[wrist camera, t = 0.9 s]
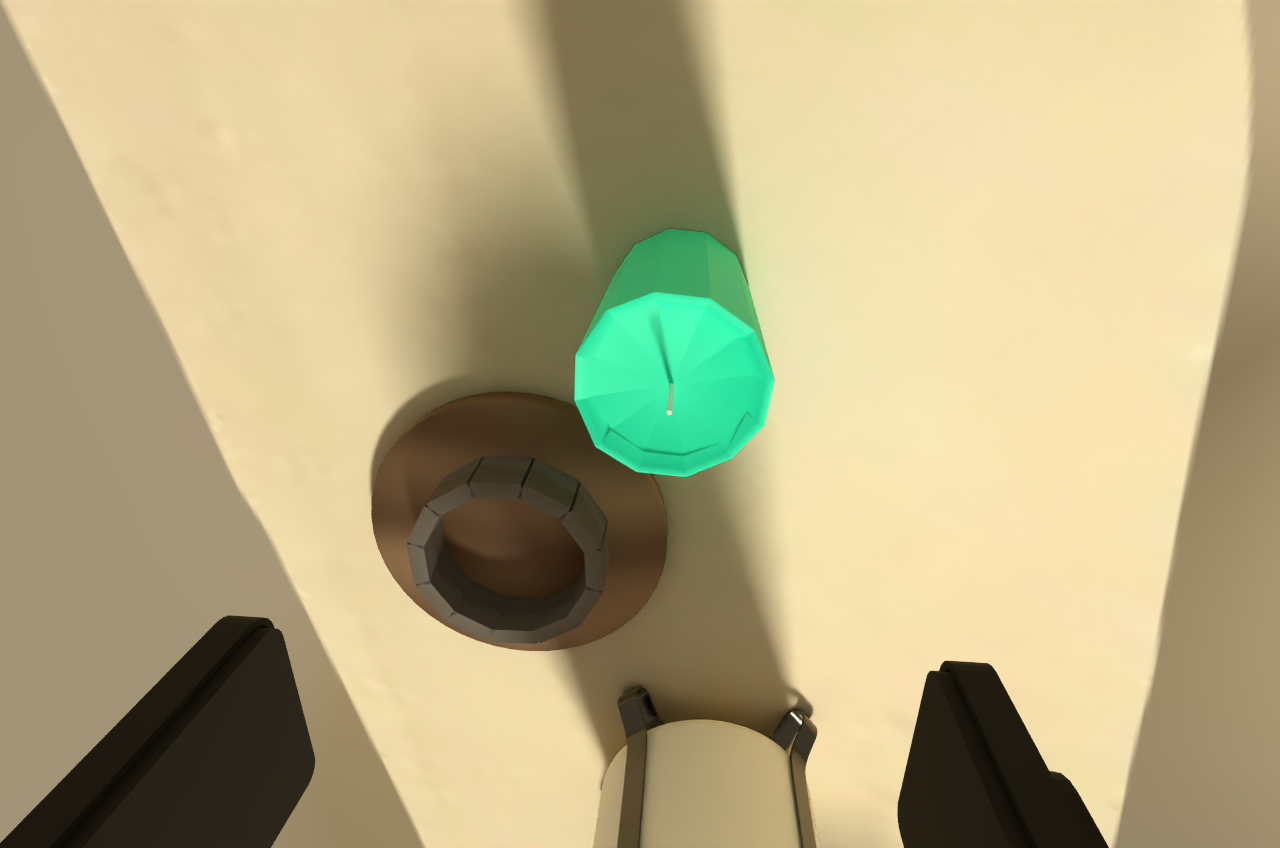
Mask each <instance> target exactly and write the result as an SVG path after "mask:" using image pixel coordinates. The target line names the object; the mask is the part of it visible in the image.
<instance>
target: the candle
mask: <svg viewBox="0 0 1280 848" xmlns="http://www.w3.org/2000/svg"><path fill="white" fill-rule="evenodd" d="M774 381H775V379H774V376H773V372H772V368H771V365H770V361H769V358H768V354H767V350H766V347H765V343H764V340H763V336H762V332H761V329H760V325H759V321H758V318H757V314H756V311H755V307H754V303H753V300H752V296H751V293H750V289H749V286H748V284H747V281H746V279H745V276H744V274H743V271H742V269H741V266H740V264H739V261H738V259H737V256H736V254H734V253H733V252H732V251H730V250H729V249H728V248H726V247H725V246H724V245H722V244H721V243H720V242H718V241H717V240H716V239H714V238H713V237H712V236H710V235H709V234H708V233H706V232H697V231H688V230H678V229H667V230H665V231H663V232H660V233H658V234H656V235H654V236H652V237H650V238H647V239H645V240H643V241H641V242H639V243H637V244H635V245H634V247H633V248H632V250H631V251H630V253H629V254H628V255H627V257H626V258H625V260H624V261H623V263H622V264H621V265H620V267H619V268H618V270H617V271H616V273H615V274H614V276H613V278H612V281H611V283H610V285H609V287H608V289H607V291H606V293H605V295H604V297H603V299H602V301H601V303H600V305H599V307H598V310H597V312H596V314H595V316H594V318H593V320H592V322H591V324H590V326H589V328H588V330H587V332H586V334H585V336H584V339H583V341H582V343H581V345H580V347H579V349H578V351H577V353H576V355H575V395H574V401H575V403H576V405H577V407H578V409H579V412H580V414H581V416H582V418H583V420H584V423H585V425H586V427H587V429H588V431H589V434H590V436H591V438H592V440H593V442H594V445H595V447H597V448H598V449H600V450H601V451H603V452H605V453H606V454H608V455H610V456H611V457H613V458H615V459H616V460H618V461H620V462H621V463H623V464H624V465H626V466H628V467H629V468H631V469H633V470H634V471H636V472H641V473H651V474H661V475H670V476H680V477H687V476H690V475H692V474H695V473H697V472H700V471H702V470H705V469H707V468H710V467H712V466H715V465H717V464H720V463H722V462H724V461H727V460H729V459H732V458H733V457H734V456H735V455H736V454H737V453H738V452H739V451H740V450H741V449H742V448H743V447H744V446H745V445H746V443H747V442H748V441H749V440H750V439H751V438H752V437H753V436H754V435H755V434H756V433H757V432H758V431H759V430H760V429H761V428H762V427H763V426H764V425H765V421H766V417H767V412H768V408H769V403H770V399H771V394H772V390H773V385H774Z"/></svg>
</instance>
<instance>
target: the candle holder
mask: <svg viewBox="0 0 1280 848" xmlns="http://www.w3.org/2000/svg"><path fill="white" fill-rule="evenodd" d="M372 523H373V531H374V535H375V539H376V542H377V545H378V549H379V551H380V553H381V556H382V558H383V560H384V562H385V564H386V566H387V568H388V569H389V571H390V573H391V574H392V576H393V578H394V579H395V580H396V582H397V583H398V584H399V585H400V587H401V588H402V589H403V591H404V592H405V593H406V594H407V595H408V596H409V597H410V598H411V599H412V600H413V601H414V602H415V603H416V604H417V605H418V606H419V607H421V608H422V609H423V610H424V611H425V612H427V613H428V614H429V615H430V616H432V617H433V618H435V619H436V620H438V621H439V622H441V623H442V624H444V625H445V626H447V627H449V628H451V629H453V630H455V631H457V632H459V633H461V634H463V635H465V636H468V637H470V638H473V639H475V640H477V641H481V642H484V643H487V644H491V645H494V646H498V647H504V648H509V649H515V650H525V651H551V650H560V649H567V648H571V647H576V646H580V645H584V644H586V643H589V642H592V641H595V640H598V639H600V638H602V637H604V636H606V635H608V634H610V633H612V632H613V631H615V630H617V629H618V628H620V627H621V626H623V625H624V624H625V623H627V622H628V621H629V620H630V619H631V618H632V617H633V616H635V615H636V614H637V613H638V612H639V611H640V609H641V608H642V607H643V606H644V605H645V603H646V602H647V601H648V599H649V598H650V596H651V595H652V593H653V591H654V590H655V588H656V586H657V583H658V581H659V579H660V576H661V574H662V570H663V566H664V562H665V557H666V545H667V517H666V511H665V507H664V502H663V498H662V495H661V493H660V490H659V488H658V485H657V483H656V480H655V479H654V477H653V475H652V474H651V473H641V472H636V471H634V470H633V469H631V468H629V467H628V466H626V465H624V464H623V463H621V462H620V461H618V460H616V459H615V458H613V457H611V456H610V455H608V454H606V453H605V452H603V451H601V450H600V449H598V448H597V447H595V445H594V442H593V440H592V438H591V436H590V434H589V431H588V429H587V427H586V425H585V423H584V420H583V418H582V416H581V414H580V412H579V409H578V408H577V407H574V406H572V405H570V404H567V403H564V402H561V401H558V400H555V399H552V398H548V397H543V396H538V395H533V394H527V393H514V392H498V393H485V394H479V395H474V396H468V397H465V398H462V399H459V400H456V401H453V402H450V403H448V404H446V405H444V406H441V407H439V408H437V409H435V410H433V411H432V412H430V413H429V414H427V415H426V416H424V417H423V418H421V419H420V420H419V421H418V422H416V423H415V424H414V425H413V426H412V427H411V428H410V429H409V430H408V431H407V432H406V433H405V434H404V435H403V436H402V437H401V438H400V440H399V441H398V442H397V443H396V445H395V446H394V447H393V448H392V450H391V451H390V452H389V453H388V455H387V457H386V459H385V460H384V462H383V464H382V466H381V468H380V470H379V473H378V476H377V479H376V481H375V484H374V490H373V496H372Z"/></svg>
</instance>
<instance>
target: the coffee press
mask: <svg viewBox="0 0 1280 848" xmlns="http://www.w3.org/2000/svg"><path fill="white" fill-rule="evenodd" d="M618 706H619V711H620V714H621V717H622V721H623V724H624V728H625V732H626V737H627V744H626V745H625V746H624V747H623V748H622V749H621V750H620V751H619V752H618V754H617V755H616V756H615V758H614V759H613V760H612V762H611V764H610V765H609V767H608V769H607V772H606V774H605V777H604V781H603V786H602V791H601V797H600V804H599V810H598V817H597V824H596V831H595V838H594V845H593V848H819V843H818V837H817V831H816V826H815V820H814V814H813V808H812V803H811V798H810V793H809V789H808V785H807V782H806V776H805V767H806V762H807V759H808V756H809V754H810V751H811V749H812V746H813V744H814V741H815V739H816V736H817V728H816V726H815V725H814V724H813V722H812V721H811V720H810V719H809V718H808V717H807V716H806V715H805V714H804V713H803V711H801V710H800V709H793V710H791V711H789V712H788V713H786V715H785V716H784V717H783V719H782V720H781V722H780V724H779V725H778V727H777V729H776V730H775V732H774V733H773V734H772V735H771V736H770V737H769V738H767V737H766V736H764V735H762V734H760V733H758V732H756V731H754V730H751V729H749V728H746V727H743V726H740V725H737V724H733V723H728V722H723V721H716V720H684V721H677V722H672V723H668V724H664V723H663V722H662V721H661V719H660V717H659V715H658V713H657V711H656V709H655V707H654V704H653V702H652V699H651V697H650V695H649V693H648V692H647V691H646V689H645V688H643V687H641V686H639V687H637V688H635V689H633V690H631V691H630V692H628V693H626V694H624V695H622V696H620V697H619V700H618ZM797 731H798V733H797ZM796 733H797V735H796ZM795 735H796V737H795V740H794V742H793V745H792V748H791V752H790V755H789V754H788V753H787V752H786V751H785V750H786V749H787V748H788V746H789V745H790V743H791V742H792V740H793V738H794V736H795Z"/></svg>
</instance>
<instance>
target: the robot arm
mask: <svg viewBox="0 0 1280 848" xmlns="http://www.w3.org/2000/svg"><path fill="white" fill-rule="evenodd" d="M314 767H315V756H314V752H313V748H312V744H311V740H310V736H309V733H308V729H307V725H306V721H305V717H304V714H303V710H302V706H301V702H300V698H299V694H298V690H297V687H296V683H295V679H294V675H293V671H292V668H291V664H290V660H289V656H288V652H287V648H286V645H285V641H284V637H283V634H282V632H281V631H280V630H279V629H275V628H274V626H273V624H272V622H271V621H270V620H269V619H267V618H260V617H244V616H226V617H223V618H222V619H220V620H219V621H218V622H217V623H216V624H215V625H214V626H213V627H212V628H211V629H210V630H209V631H208V632H207V633H206V634H205V635H204V636H203V637H202V638H201V639H200V640H199V641H198V642H197V643H196V644H195V645H194V646H193V647H192V648H191V649H190V650H189V651H188V652H187V653H186V654H185V655H184V656H183V657H182V658H181V659H180V660H179V661H178V662H177V663H176V664H175V665H174V667H172V668H171V669H170V671H168V672H167V674H166V675H165V676H164V677H163V678H162V679H161V680H160V681H159V682H158V683H157V684H156V685H155V686H154V687H153V688H152V689H151V690H150V691H149V692H148V693H147V694H146V695H145V696H144V697H143V698H142V699H141V700H140V701H139V702H138V703H137V704H136V705H135V706H134V707H133V708H132V709H131V710H130V711H129V712H128V713H127V714H126V715H125V716H124V717H123V719H122V720H120V721H119V722H118V723H117V725H116V726H115V727H114V728H113V729H112V730H111V731H110V732H109V733H108V734H107V735H106V736H105V737H104V738H103V739H102V740H101V741H100V742H99V743H98V744H97V745H96V746H95V747H94V748H93V749H92V750H91V751H90V752H89V753H88V754H87V755H86V756H85V757H84V758H83V759H82V760H81V761H80V762H79V763H78V764H77V765H76V766H75V767H74V768H73V769H72V770H71V771H70V773H69V774H67V776H66V777H65V778H64V779H63V780H62V781H61V782H60V783H59V784H58V785H57V786H56V787H55V788H54V789H53V790H52V791H51V792H50V793H49V794H48V795H47V796H46V797H45V798H44V799H43V800H42V801H41V802H40V803H39V804H38V805H37V806H36V807H35V808H34V809H33V810H32V811H31V812H30V813H29V814H28V815H27V816H26V817H25V818H24V819H23V821H22V822H20V824H18V826H17V827H16V828H15V829H14V830H13V831H12V832H11V833H10V834H9V835H8V836H7V837H6V838H5V839H4V840H3V841H2V842H1V843H0V848H271V846H272V845H273V843H274V841H275V840H276V838H277V836H278V835H279V833H280V831H281V830H282V828H283V826H284V825H285V823H286V821H287V820H288V818H289V816H290V815H291V813H292V811H293V810H294V808H295V806H296V805H297V803H298V801H299V800H300V798H301V796H302V795H303V793H304V791H305V790H306V788H307V786H308V785H309V783H310V780H311V778H312V775H313V772H314ZM898 824H899V830H900V834H901V838H902V841H903V845H904V848H1109V847H1108V845H1107V843H1106V842H1105V840H1104V838H1103V836H1102V834H1101V833H1100V831H1099V829H1098V827H1097V826H1096V824H1095V822H1094V820H1093V818H1092V817H1091V815H1090V813H1089V811H1088V810H1087V808H1086V806H1085V804H1084V802H1083V801H1082V799H1081V797H1080V795H1079V794H1078V792H1077V790H1076V789H1075V788H1074V786H1073V785H1072V783H1071V782H1070V780H1068V779H1067V778H1066V777H1065V776H1064V775H1062V774H1061V773H1058V772H1053V771H1049V770H1048V768H1047V766H1046V764H1045V762H1044V760H1043V758H1042V757H1041V755H1040V753H1039V751H1038V749H1037V747H1036V745H1035V743H1034V742H1033V740H1032V738H1031V736H1030V734H1029V732H1028V730H1027V729H1026V727H1025V725H1024V723H1023V721H1022V719H1021V717H1020V715H1019V714H1018V712H1017V710H1016V708H1015V706H1014V704H1013V702H1012V701H1011V699H1010V697H1009V695H1008V693H1007V691H1006V689H1005V687H1004V686H1003V684H1002V682H1001V680H1000V678H999V676H998V674H997V673H996V671H995V670H994V668H993V667H992V666H991V665H990V664H988V663H974V662H958V661H944V662H943V663H942V665H941V667H940V670H939V671H930V672H929V673H928V675H927V678H926V682H925V686H924V691H923V695H922V699H921V704H920V708H919V713H918V717H917V722H916V726H915V730H914V735H913V739H912V744H911V748H910V752H909V757H908V761H907V766H906V770H905V774H904V779H903V783H902V788H901V792H900V796H899V801H898Z"/></svg>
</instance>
